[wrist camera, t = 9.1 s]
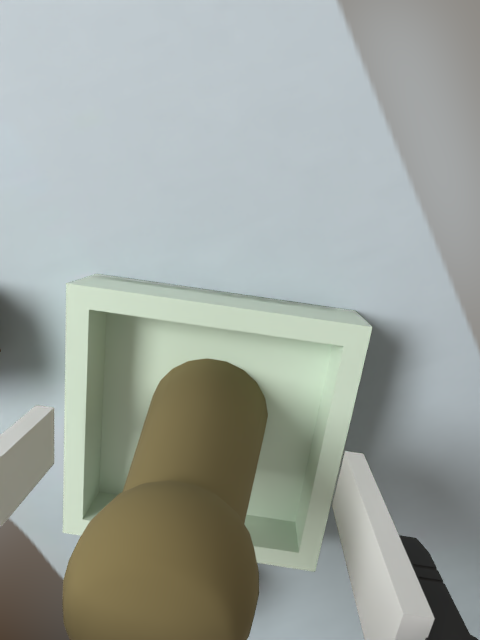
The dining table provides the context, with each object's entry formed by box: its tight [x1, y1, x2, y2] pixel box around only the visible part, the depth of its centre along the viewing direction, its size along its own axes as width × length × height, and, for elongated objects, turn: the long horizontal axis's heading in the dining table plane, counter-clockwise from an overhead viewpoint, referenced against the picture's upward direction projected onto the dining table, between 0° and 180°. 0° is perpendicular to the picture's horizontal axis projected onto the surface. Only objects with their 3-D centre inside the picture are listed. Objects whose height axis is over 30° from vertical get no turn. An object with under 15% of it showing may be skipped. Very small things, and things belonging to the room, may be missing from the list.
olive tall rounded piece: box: [63, 358, 268, 640], centre depth 14 cm, size 6×6×11 cm
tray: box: [63, 274, 372, 572], centre depth 19 cm, size 13×13×3 cm
